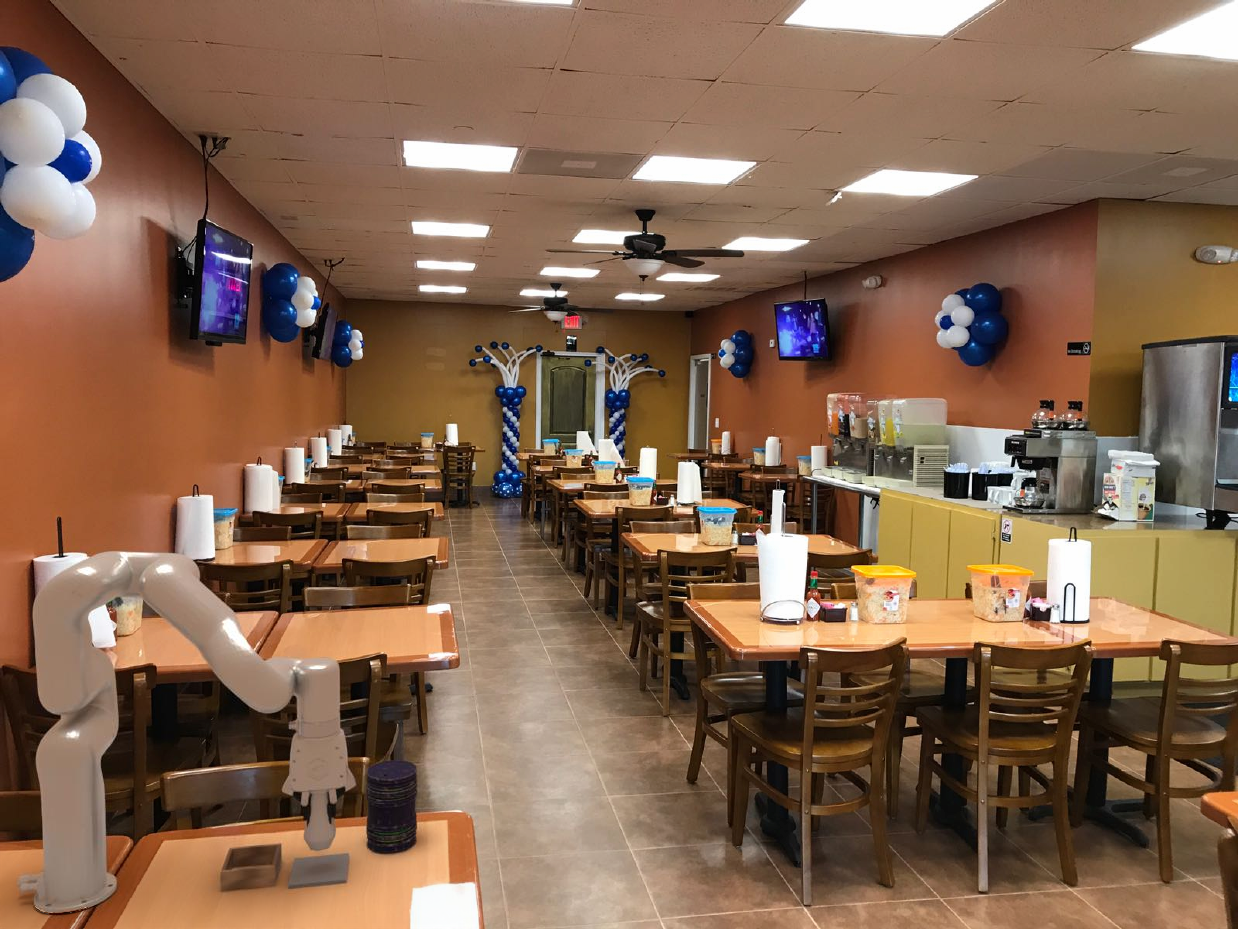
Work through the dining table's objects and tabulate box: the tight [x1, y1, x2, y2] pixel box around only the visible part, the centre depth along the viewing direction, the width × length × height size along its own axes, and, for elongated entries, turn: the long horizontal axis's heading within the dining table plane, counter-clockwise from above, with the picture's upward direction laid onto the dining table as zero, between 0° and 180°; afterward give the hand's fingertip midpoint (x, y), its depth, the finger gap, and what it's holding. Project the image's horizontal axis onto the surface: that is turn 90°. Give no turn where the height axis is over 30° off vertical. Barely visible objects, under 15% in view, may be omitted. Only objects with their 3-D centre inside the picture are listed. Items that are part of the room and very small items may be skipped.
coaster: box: [287, 852, 350, 889], centre depth 171 cm, size 10×10×1 cm
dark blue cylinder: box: [365, 759, 418, 855], centre depth 182 cm, size 10×10×15 cm
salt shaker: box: [303, 790, 337, 852], centre depth 170 cm, size 6×6×13 cm
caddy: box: [219, 842, 283, 892], centre depth 169 cm, size 9×9×4 cm
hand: (319, 821), depth 170 cm, fingers closed on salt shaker, 3 cm apart
